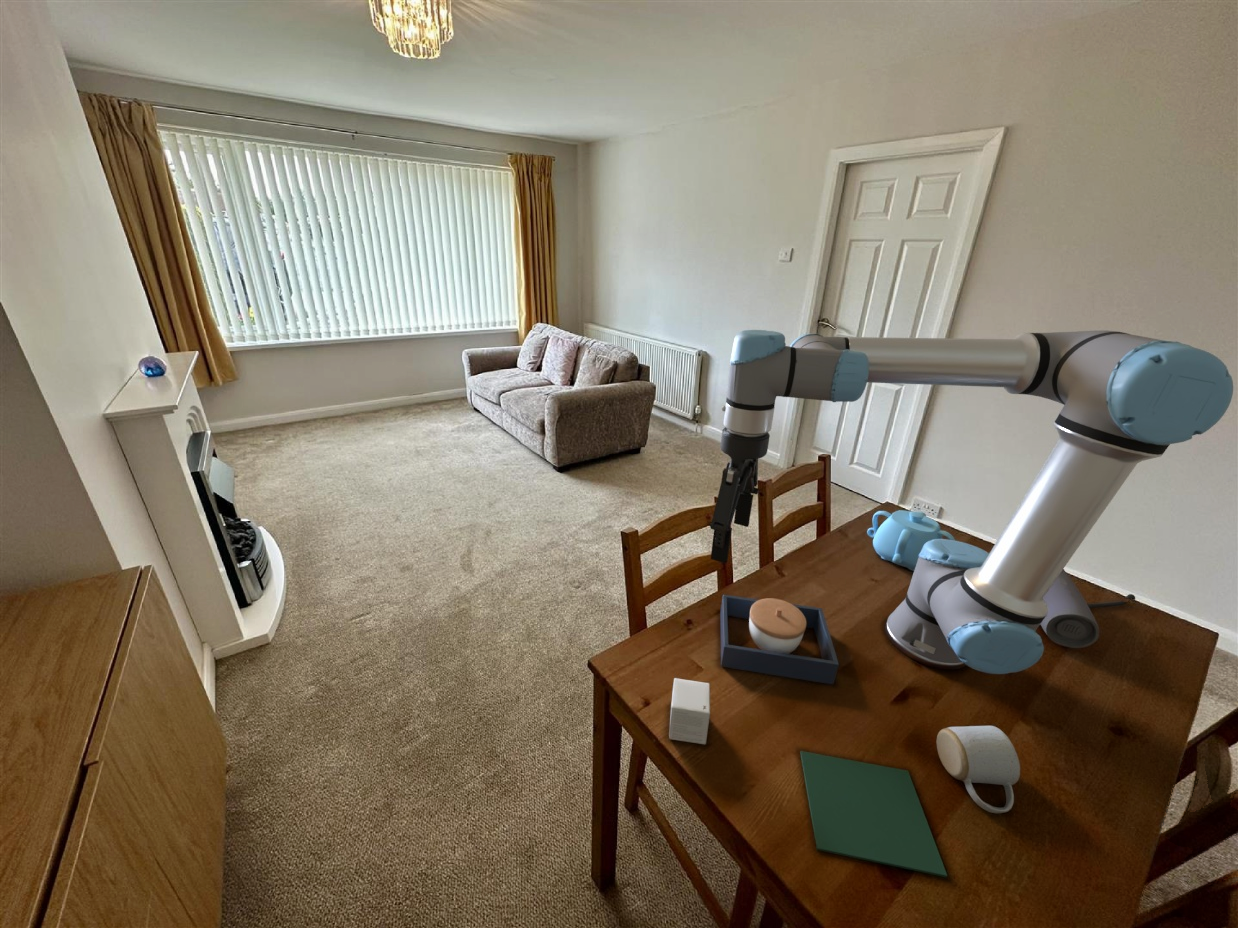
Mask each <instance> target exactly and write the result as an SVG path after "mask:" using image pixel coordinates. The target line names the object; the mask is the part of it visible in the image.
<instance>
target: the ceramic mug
mask: <svg viewBox="0 0 1238 928" xmlns="http://www.w3.org/2000/svg"><path fill="white" fill-rule="evenodd" d="M935 743H936V750H937V753H938V757H939V759H940V762H941V764H942V766H943V767H944V769H945V770H946V771H947V773H948V774H949V775H950V776H951V777H952V778H954V779H955V780H959V781H962V783H964V785H965V789H966V791H967V793H968V794H969V796H970V798H971V799H972V800H973V802H974V803H975V804H976V805H977V806H978V807H980V808H981V809H983V810H984V811H986V812H988V813H993V814H1002V813H1007V812H1009V811H1010V810H1012V808H1013V805H1014V803H1015V794H1014V789H1013V785H1015V784H1016V783H1017V782H1018V781H1019V779H1020V777H1021V764H1020V760H1019V755H1018V753H1017V751H1016V748H1015V746H1014V744H1013V743H1012V741H1011V740H1010V738H1009V737H1008V736H1007V734H1006V733H1005V732H1004V731H1002V730H1001V729H1000V728H999V727H996V726H995V725H969V726H948V727H944V728H942V729H940V730H939V732H938V733H937V736H936V741H935ZM972 783H976V784H978V783H979V784H990V785H999V786H1001V785H1002V786H1003V788H1004V792H1005V799H1006V802H1005V804H1004V806H1003V807H997V806H993V805H991V804H989V803H987V802H985V801H984V800H982V799H981V798H980V796H979V795H978V793H977V792H976V790H975V788H974V786H973V784H972Z"/></svg>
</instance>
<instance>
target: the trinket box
mask: <svg viewBox="0 0 1238 928" xmlns="http://www.w3.org/2000/svg"><path fill="white" fill-rule="evenodd" d="M792 604H793V603H790V602H789V601H785V600H783V599H779V598H774V597H769V598H768V597H766V598H761V599H759V600H758V601H756V602H755V603H754V604H753V605H752V606H751V609H750V618H749V619H748V621H749V622H748V630H749V634H750V637H751V640H752V641H753V643H754V644H755V646H756V647H757V649H759V650H766V651H772V652H779V653H785V654H792V653H793V652H794V651H795V650H796V649H797V648H798V647H799V645H800V644H801V642H802V640H803V637H804V634H805V631H806V628H807V627H806V624H807V623H806V619H805V616H804V615H803V613H802V612H801V611H800V610H799V609H798V608H797V607H795V606H794V605H792Z"/></svg>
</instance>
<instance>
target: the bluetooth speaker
mask: <svg viewBox="0 0 1238 928" xmlns="http://www.w3.org/2000/svg"><path fill="white" fill-rule="evenodd" d="M1043 599H1044V601H1045V603H1046V605H1047V607H1048V613H1047V615H1046V617H1045V618H1044V619H1043V621H1042V622H1041V624H1040V625H1039V626H1041V628H1042V630H1043V631H1044V633H1045V634H1046V635H1047V637H1048V638H1049V639H1050V640H1051V641H1052V642H1053V643H1055V644H1057V645H1059V646H1063V647H1066V648H1070V649H1084V648H1086V647H1090V646H1091V645H1093V644H1094V643H1096V642H1097V641H1098V640H1099V637H1100V627H1099V625H1098V622H1097V620H1096V618H1095V616H1094V614H1093V612H1092V611H1091V608H1089V607H1088V605H1087V604H1088V603H1087V601H1086V599H1085V598H1084V596H1083V595H1082V593H1081V591H1080V590H1079V588H1078V587H1077V585H1076V584H1075V583H1074V581H1073V579H1072V578H1071V577H1070V575H1069V574H1068V573H1067V571H1066V570H1065V568H1064V569H1063V570H1062V571H1061V573H1060V574H1059V576H1058V577H1057V578H1056V580H1055V581H1054V583H1053V584H1052V586H1051V587H1050V588H1049V590H1048V591H1047V593H1046V594H1045V596H1044V597H1043Z"/></svg>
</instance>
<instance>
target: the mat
mask: <svg viewBox="0 0 1238 928" xmlns="http://www.w3.org/2000/svg"><path fill="white" fill-rule="evenodd" d="M799 753H800V759H801V764H802V765H801V766H802V771H803V776H804V782H805V787H806V794H807V800H808V807H809V810H810V811H809V813H810V817H811V823H812V829H813V835H814V840H815V847H816V851H821V852H826V853H831V854H835V855H839V856H843V857H849V858H854V859H858V860H863V861H867V862H873V863H877V864H882V865H887V866H890V867H896V868H900V869H905V870H910V871H915V872H918V873H924V874H929V875H934V876H938V877H942V878H948V873H947V871H946V867H945V866H944V863H943V859H942V857H941V855H940V852H939V850H938V847H937V844H936V841H935V838H934V836H933V834H932V830H931V828H930V825H929V823H928V820H927V818H926V815H925V812H924V809H923V807H922V804H921V801H920V798H919V795H918V794H917V791H916V788H915V785H914V783H913V780H912V778H911V775H910V771H909V770H907V769H901V768H896V767H892V766H891V767H890V766H885V765H880V764H874V763H869V762H864V761H857V760H854V759H853V760H852V759H846V758H841V757H835V756H830V755H825V754H820V753H814V752H808V751H804V750H800V752H799Z"/></svg>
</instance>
